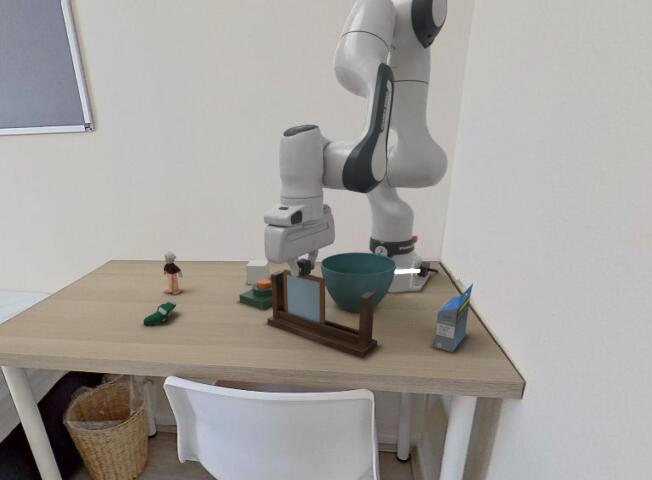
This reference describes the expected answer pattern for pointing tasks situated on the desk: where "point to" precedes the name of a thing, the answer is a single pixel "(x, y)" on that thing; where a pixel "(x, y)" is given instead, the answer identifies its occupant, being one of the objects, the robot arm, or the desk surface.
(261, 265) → the white cube
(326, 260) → the teal bowl
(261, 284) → the latch button
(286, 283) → the window pane
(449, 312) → the blue cardboard box
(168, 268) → the grandmother figurine
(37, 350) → the desk surface
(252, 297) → the green push button base
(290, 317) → the window frame
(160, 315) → the green shoe
